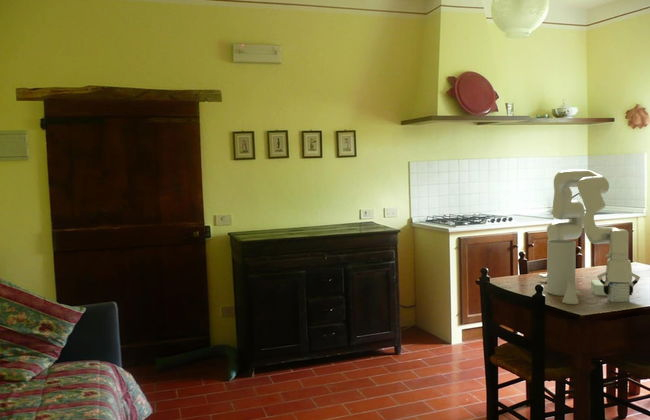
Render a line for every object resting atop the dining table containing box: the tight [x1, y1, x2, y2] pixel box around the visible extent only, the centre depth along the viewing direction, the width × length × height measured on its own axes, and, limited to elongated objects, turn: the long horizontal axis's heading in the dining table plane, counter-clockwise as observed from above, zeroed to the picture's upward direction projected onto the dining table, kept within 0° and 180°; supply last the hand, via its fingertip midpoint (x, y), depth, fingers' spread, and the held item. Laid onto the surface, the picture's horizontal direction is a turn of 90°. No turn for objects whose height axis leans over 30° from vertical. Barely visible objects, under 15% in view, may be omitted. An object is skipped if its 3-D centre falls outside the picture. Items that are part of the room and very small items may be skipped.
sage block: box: [590, 279, 607, 296], centre depth 271 cm, size 12×12×5 cm
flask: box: [561, 280, 580, 305], centre depth 253 cm, size 7×7×10 cm
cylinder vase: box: [546, 239, 577, 297], centre depth 270 cm, size 12×12×25 cm
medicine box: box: [607, 282, 631, 303], centre depth 254 cm, size 8×4×9 cm, turn 92°
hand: (618, 294), depth 255 cm, fingers open, 9 cm apart
